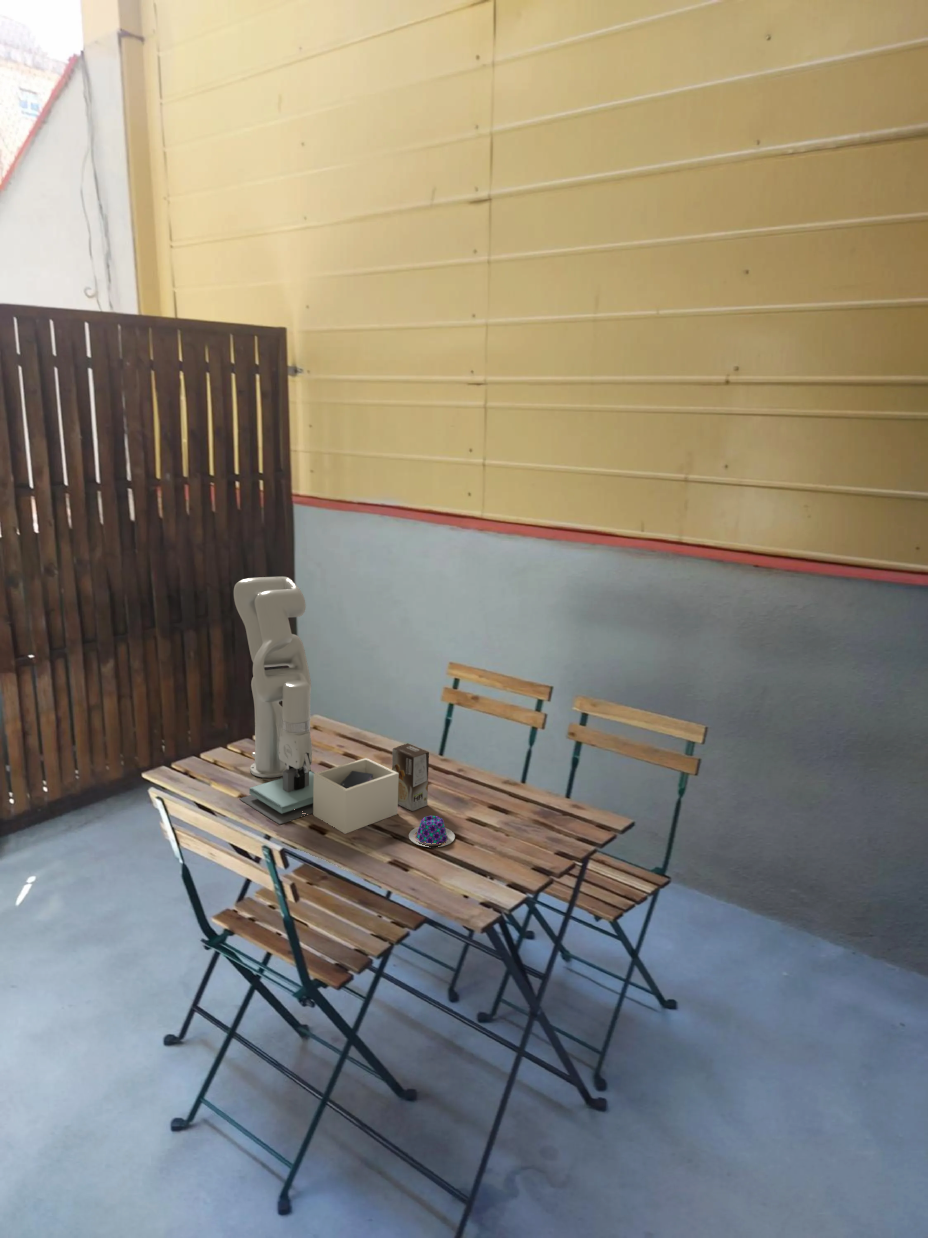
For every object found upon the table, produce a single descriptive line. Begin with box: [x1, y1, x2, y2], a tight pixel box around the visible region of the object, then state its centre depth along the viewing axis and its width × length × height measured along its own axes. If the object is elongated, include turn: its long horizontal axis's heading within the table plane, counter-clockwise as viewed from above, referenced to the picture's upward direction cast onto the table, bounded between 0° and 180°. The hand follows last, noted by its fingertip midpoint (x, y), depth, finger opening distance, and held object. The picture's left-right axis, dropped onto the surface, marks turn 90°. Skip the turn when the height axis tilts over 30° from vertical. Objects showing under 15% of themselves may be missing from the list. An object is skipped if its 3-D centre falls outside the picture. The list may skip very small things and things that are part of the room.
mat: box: [239, 794, 313, 826], centre depth 234 cm, size 20×24×1 cm
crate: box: [312, 757, 399, 835], centre depth 225 cm, size 14×18×12 cm
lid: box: [248, 768, 315, 814], centre depth 233 cm, size 16×20×7 cm
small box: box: [340, 771, 373, 789], centre depth 225 cm, size 11×6×10 cm, turn 168°
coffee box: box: [391, 743, 430, 812], centre depth 233 cm, size 9×6×16 cm
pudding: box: [408, 815, 456, 848], centre depth 215 cm, size 12×12×5 cm
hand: (296, 786), depth 233 cm, fingers closed on lid, 2 cm apart
